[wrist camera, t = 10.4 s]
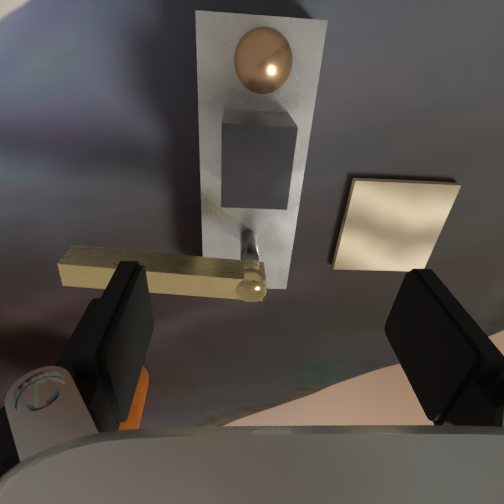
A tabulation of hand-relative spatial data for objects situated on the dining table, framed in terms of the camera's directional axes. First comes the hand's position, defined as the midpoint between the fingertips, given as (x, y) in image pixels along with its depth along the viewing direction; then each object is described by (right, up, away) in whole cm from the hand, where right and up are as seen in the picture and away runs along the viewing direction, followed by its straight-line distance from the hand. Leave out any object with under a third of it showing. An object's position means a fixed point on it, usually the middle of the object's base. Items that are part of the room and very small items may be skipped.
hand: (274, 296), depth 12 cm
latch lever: (-7, +1, +15) cm, 16 cm away
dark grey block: (-1, +10, +15) cm, 18 cm away
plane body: (-1, +10, +20) cm, 22 cm away
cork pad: (+15, +4, +24) cm, 29 cm away
